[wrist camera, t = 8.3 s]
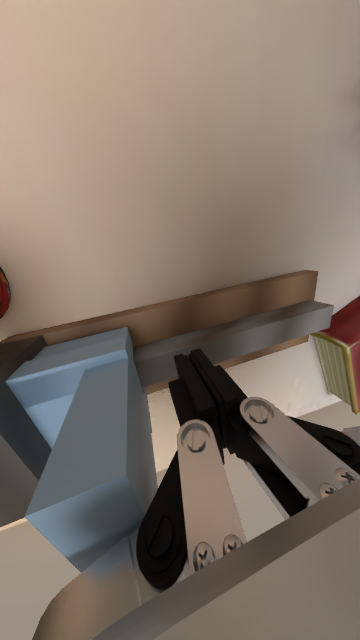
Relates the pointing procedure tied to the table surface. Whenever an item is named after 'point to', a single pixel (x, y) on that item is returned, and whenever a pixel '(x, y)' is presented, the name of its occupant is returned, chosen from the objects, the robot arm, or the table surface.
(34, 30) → the table surface
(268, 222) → the table surface
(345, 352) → the hardcover book
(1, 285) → the deodorant
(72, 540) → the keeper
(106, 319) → the guide rail
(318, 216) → the table surface
